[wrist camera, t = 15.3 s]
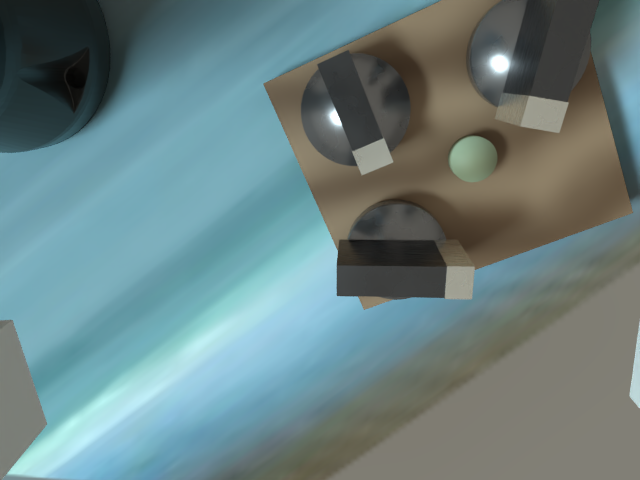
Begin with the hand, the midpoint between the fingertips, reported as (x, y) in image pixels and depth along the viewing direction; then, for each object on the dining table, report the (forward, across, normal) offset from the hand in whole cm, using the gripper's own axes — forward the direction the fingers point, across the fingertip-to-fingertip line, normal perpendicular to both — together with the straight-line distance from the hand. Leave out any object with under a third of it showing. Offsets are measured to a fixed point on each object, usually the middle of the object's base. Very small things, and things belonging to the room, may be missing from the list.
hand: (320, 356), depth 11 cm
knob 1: (+25, +2, +3) cm, 26 cm away
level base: (+27, +8, 0) cm, 28 cm away
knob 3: (+25, +12, +5) cm, 29 cm away
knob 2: (+25, +4, -7) cm, 26 cm away
